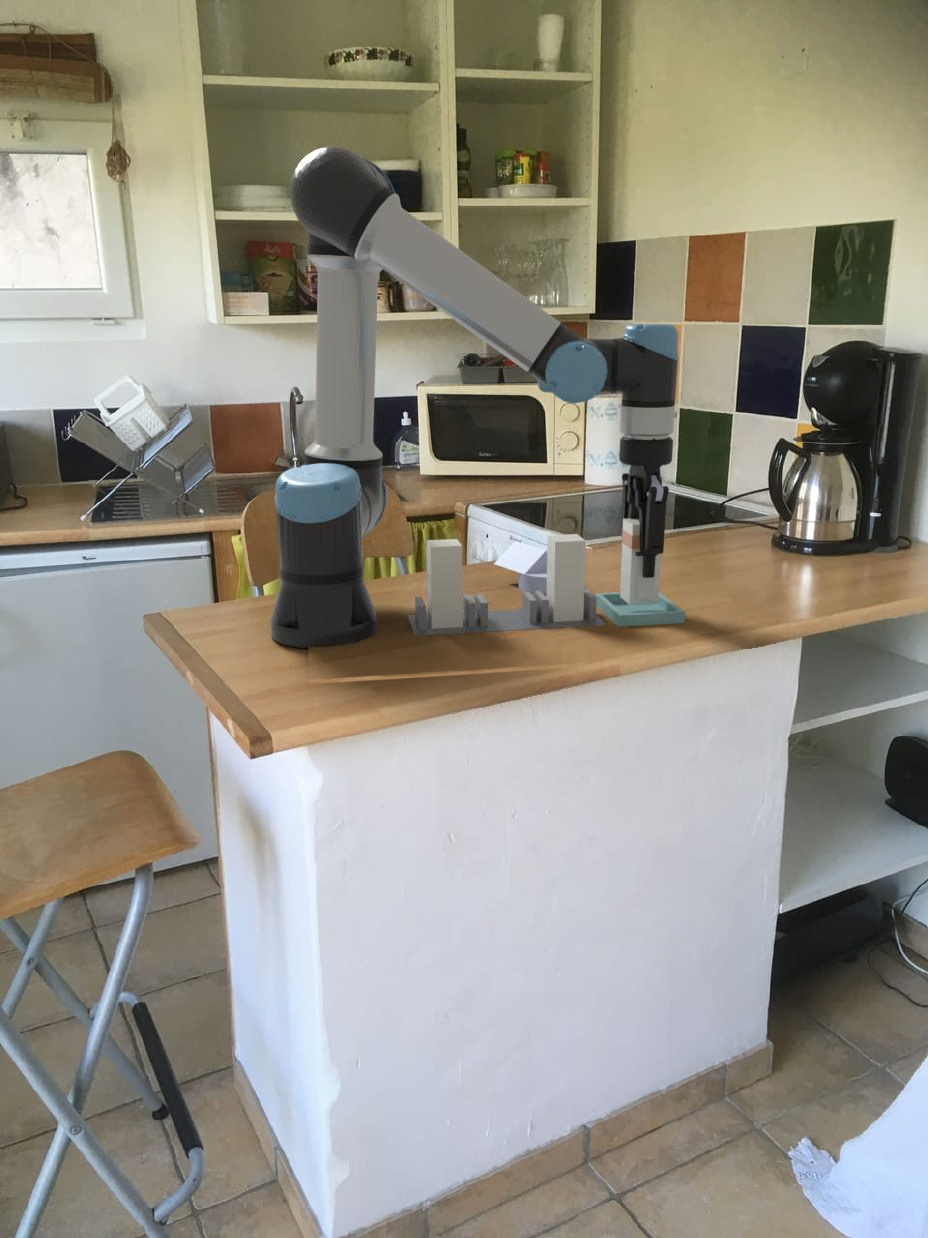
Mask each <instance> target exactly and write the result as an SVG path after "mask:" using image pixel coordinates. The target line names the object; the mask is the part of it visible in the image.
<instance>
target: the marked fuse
mask: <svg viewBox="0 0 928 1238" xmlns="http://www.w3.org/2000/svg"><path fill="white" fill-rule="evenodd" d="M635 552H640V524H639V518H638V519H623V529H622V537H621V563H620V581H619V583H620V585H619V587H620V588H619V592H620V597H621V598H622V599H623V600H625V601H626V602H627V603H628V604H629V605H632V604H651V603H658V601H659V592H660V578H661V576H660V575H661V562H662V560H661V559H662V554H658V555H657V560H656V579H655V598H636V597H635V594H636V573H637V556H636V554H635Z"/></svg>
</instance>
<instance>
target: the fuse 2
mask: <svg viewBox="0 0 928 1238" xmlns="http://www.w3.org/2000/svg"><path fill="white" fill-rule="evenodd" d="M586 541H587V540H586V539H584V538H583V537H581V535H580V534H577V533H573V534H572V533H571V534H550V535H549V534H548V535H547V544H546V545H547V549H546V550H547V594H545V596H546V597H547V598H548V599H549V613H548V616H549V617H550V618H551V620H552V621H553V622H562V621H580V620H583V611H584V589H585V579H586V577H585V576H586V575H585V573H586V572H585V571H586Z"/></svg>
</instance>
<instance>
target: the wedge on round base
mask: <svg viewBox="0 0 928 1238" xmlns="http://www.w3.org/2000/svg"><path fill="white" fill-rule="evenodd" d="M493 565H495V566H499V567H501V568H504V569H507V570H510V571H513V572H516V573H518V589H519V590H521V591H522V592H525V591H529V592H530V593H531V594H534V591H541V592H542V593H543V594H544V595H547V549H543V548H540V547H537V546H533V545H530V544H526V543H524V542H523V543H522V542H521V541H520V542H519V541H516V540H515V541H514V542H513V543H512V544H510V546H509V547H508V548H507V549H506V550H505V551H504V553H502V554H501V556H500V557H499V558H498V559H497V560H496V561H495V562H494V563H493Z"/></svg>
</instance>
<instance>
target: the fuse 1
mask: <svg viewBox="0 0 928 1238" xmlns="http://www.w3.org/2000/svg"><path fill="white" fill-rule="evenodd" d="M426 581H427V582H426V583H427V584H426V587H427V588H426V590H427V614H428V621H429V623H430V625H431V628H432V629H434V628H452V627H463V595H464V593H463V587H464V585H463V584H464V583H463V545H462V544H461V542H460V541H459V539H458V538H453V539H452V538H451V539H450V538H449V539H428V540H426Z"/></svg>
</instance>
